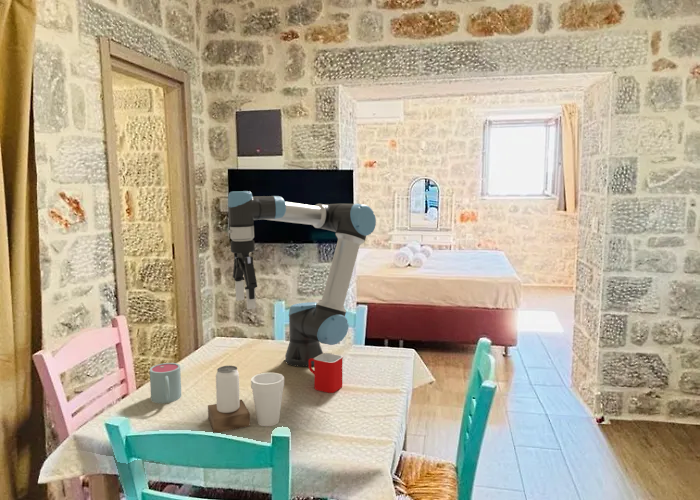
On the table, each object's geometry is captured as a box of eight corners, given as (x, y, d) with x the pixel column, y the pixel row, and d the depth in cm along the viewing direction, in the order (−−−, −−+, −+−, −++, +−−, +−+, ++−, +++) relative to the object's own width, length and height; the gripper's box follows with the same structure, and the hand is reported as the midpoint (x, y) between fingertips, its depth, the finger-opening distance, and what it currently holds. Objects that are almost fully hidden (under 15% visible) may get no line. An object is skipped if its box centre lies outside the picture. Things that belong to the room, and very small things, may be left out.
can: (234, 414, 138) (232, 373, 137) (212, 412, 140) (211, 372, 138) (243, 405, 145) (242, 365, 143) (223, 403, 146) (221, 364, 145)
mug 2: (344, 385, 170) (344, 355, 169) (332, 394, 162) (332, 363, 161) (315, 379, 175) (315, 350, 174) (302, 387, 168) (302, 357, 167)
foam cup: (254, 414, 148) (253, 372, 146) (285, 413, 148) (284, 371, 147) (250, 429, 138) (249, 385, 137) (283, 428, 139) (282, 384, 137)
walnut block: (242, 412, 149) (241, 399, 149) (249, 426, 140) (249, 412, 140) (208, 418, 145) (207, 405, 144) (214, 433, 136) (213, 419, 135)
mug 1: (150, 394, 162) (149, 365, 161) (180, 390, 166) (179, 361, 165) (151, 411, 150) (150, 379, 149) (183, 406, 153) (182, 375, 152)
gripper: (221, 237, 166) (225, 298, 169) (240, 244, 144) (244, 314, 147) (243, 235, 170) (246, 295, 173) (265, 242, 148) (268, 311, 151)
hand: (245, 304), depth 160 cm, fingers open, 13 cm apart
